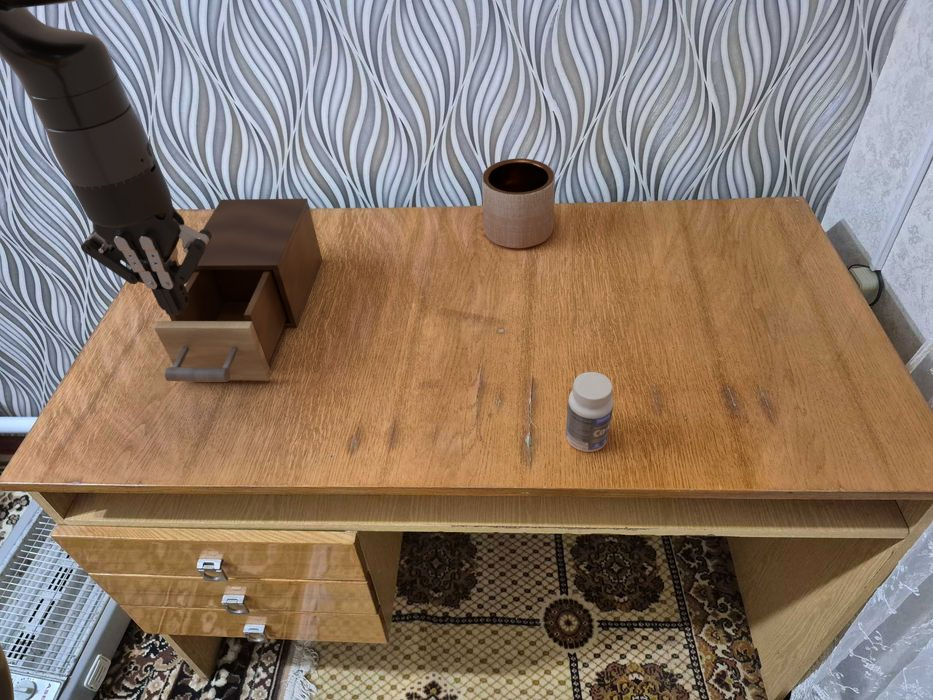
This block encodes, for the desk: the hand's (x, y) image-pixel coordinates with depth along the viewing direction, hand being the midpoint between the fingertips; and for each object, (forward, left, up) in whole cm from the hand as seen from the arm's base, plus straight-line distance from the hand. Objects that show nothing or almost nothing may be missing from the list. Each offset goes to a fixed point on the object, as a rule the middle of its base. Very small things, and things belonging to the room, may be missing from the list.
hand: (178, 309), depth 71 cm
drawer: (+7, 0, -13) cm, 15 cm away
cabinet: (+21, 0, -14) cm, 25 cm away
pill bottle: (-5, -44, -15) cm, 47 cm away
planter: (+36, -36, -15) cm, 53 cm away
